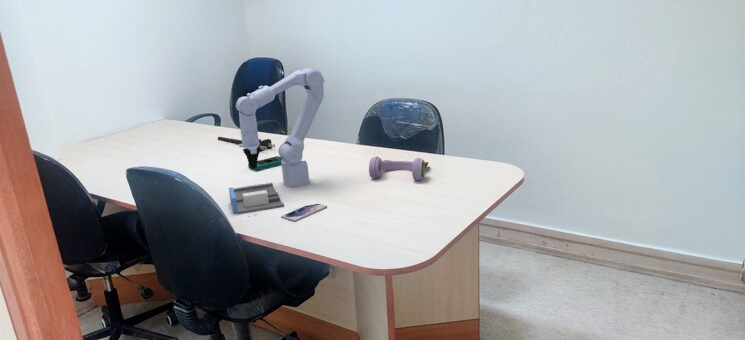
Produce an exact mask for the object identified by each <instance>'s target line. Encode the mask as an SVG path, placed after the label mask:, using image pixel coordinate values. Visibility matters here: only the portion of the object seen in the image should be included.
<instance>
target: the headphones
mask: <svg viewBox="0 0 745 340" xmlns="http://www.w3.org/2000/svg"><path fill="white" fill-rule="evenodd" d="M368 164H369V165H368V174H369V178H373V179H376V180H377V179H380V178H381V177H382V174H383V171H402V170H403V171H411V174H412V179H413V180H414V181H417V182H419V181H422V180H424V178H425V174H426V173H425V172H426V171H425V170H426V168H427V167H428V166H429V162H428V161H425V160H424V159H422V158H420V157H417V158H415V159H414V160H413V161H408V160H407V161H405V160H389V159H388V160H387V159H386V160H382V158H381V157H379V156H374V157H371V158H370V160H369V163H368Z"/></svg>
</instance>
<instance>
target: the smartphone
mask: <svg viewBox="0 0 745 340" xmlns="http://www.w3.org/2000/svg"><path fill="white" fill-rule="evenodd" d="M327 208H328V206H327V205H324V204H321V203H316V204H315V203H314V204H309V205H304V206H302V207H299V208H297V209H294V210H293V211H291V212H287V213H285V214H283V215H281V216H280V218H281V219H283V220H286V221H287V220H288V221H289V222H292V223H296V222H300V221H301V220H303V219H305V218H308V217H309V216H312V215H314V214H316V213H319V212H321V211H323V210H325V209H327Z"/></svg>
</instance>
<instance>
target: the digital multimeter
mask: <svg viewBox="0 0 745 340" xmlns="http://www.w3.org/2000/svg"><path fill="white" fill-rule="evenodd" d="M281 161H282V157H281V156H280V155H277V156H272V157H269V158H264V159H260V160H258V161H257V168H255V169H251V168H250V166H249V162H248V164H247V165H248V166H247V167H248V169H250V170H251V171H253V172H261V171H265V170H268V169H272V168H276V167H280V166H281V167H282V163H281Z"/></svg>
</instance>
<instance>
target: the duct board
mask: <svg viewBox="0 0 745 340" xmlns="http://www.w3.org/2000/svg"><path fill="white" fill-rule="evenodd" d="M262 190H266V191H267V193H268V198H273V197H280V196H279V193H278V191H276V188H275V187H274V183H273V182H268V183H260V184H255V185H248V186H247V185H246V186H241V187H228V192H229V200H230V205H232V211H233V214H238V215H242V214H247V213H248V214H249V213H254V212H260V211H261V212H262V211H265V210H266V211H267V210H274V209H277V208H278V209H279V208H284V207H285V204H284V202H283V201H282V200H281V199H280V201H277V202H271V203H269V204H264V205H258V206H252V207H246V208H245V207H244V202H243V193H250V192H256V191H262Z"/></svg>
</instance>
